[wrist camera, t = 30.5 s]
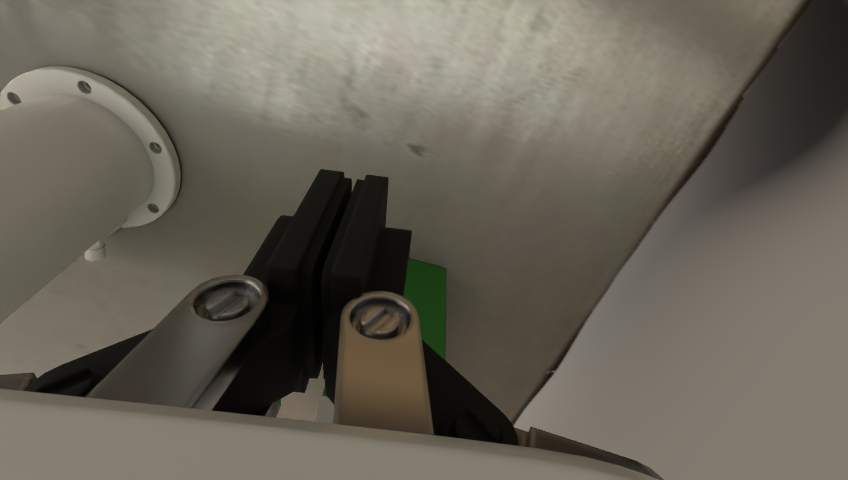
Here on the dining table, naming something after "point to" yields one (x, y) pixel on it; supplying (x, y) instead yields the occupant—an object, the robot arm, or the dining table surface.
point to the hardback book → (430, 303)
